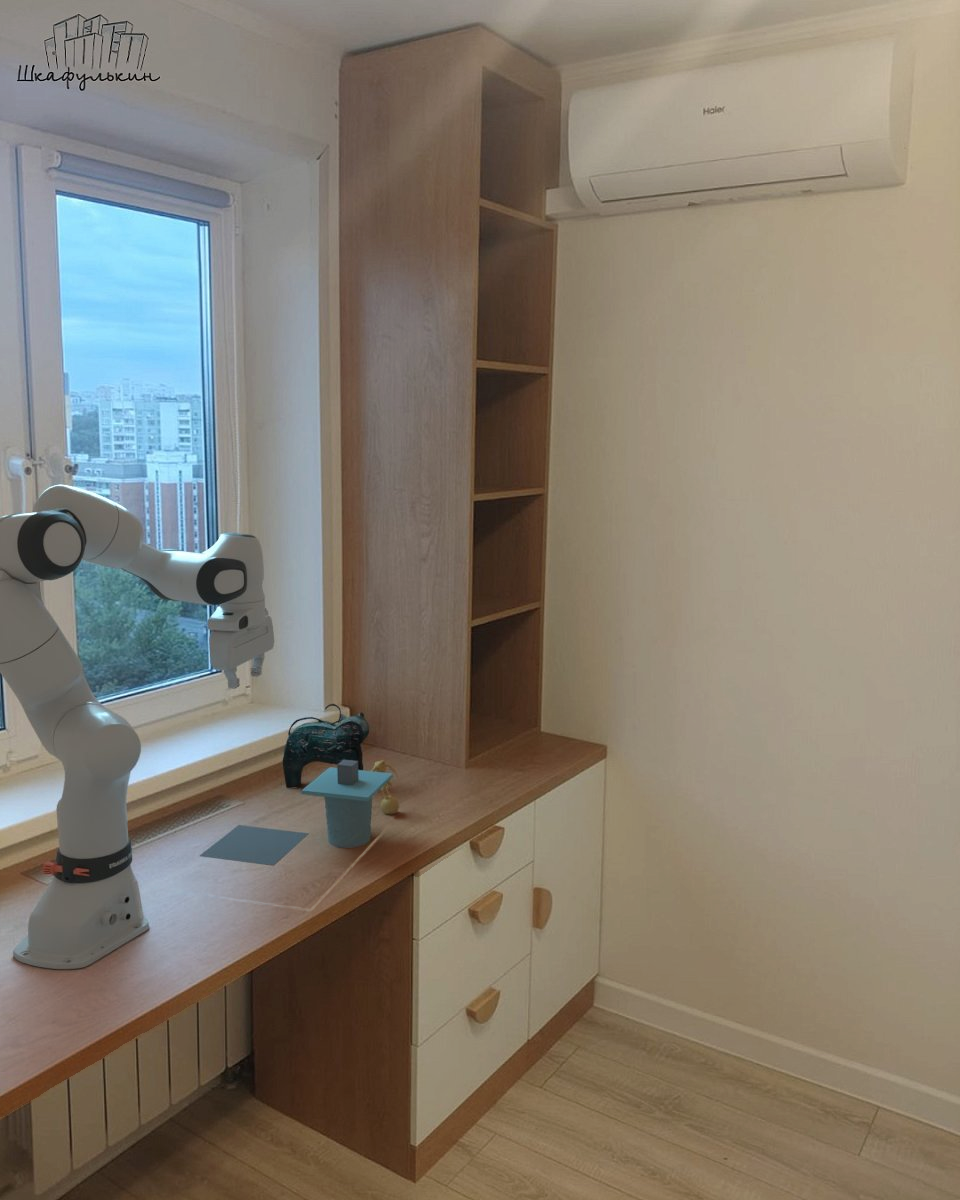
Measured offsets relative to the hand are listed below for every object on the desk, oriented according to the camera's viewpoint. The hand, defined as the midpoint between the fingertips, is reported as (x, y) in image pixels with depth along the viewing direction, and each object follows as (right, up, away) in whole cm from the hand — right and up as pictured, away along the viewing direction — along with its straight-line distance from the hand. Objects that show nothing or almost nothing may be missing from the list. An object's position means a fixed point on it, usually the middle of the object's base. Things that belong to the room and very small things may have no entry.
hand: (245, 681), depth 214 cm
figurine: (+27, -30, +19) cm, 45 cm away
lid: (+20, -21, +2) cm, 29 cm away
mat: (+2, -33, +2) cm, 33 cm away
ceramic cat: (+11, -27, +35) cm, 46 cm away
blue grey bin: (+20, -33, +5) cm, 39 cm away
